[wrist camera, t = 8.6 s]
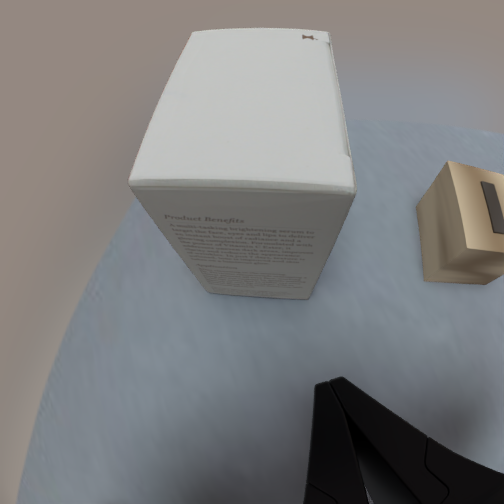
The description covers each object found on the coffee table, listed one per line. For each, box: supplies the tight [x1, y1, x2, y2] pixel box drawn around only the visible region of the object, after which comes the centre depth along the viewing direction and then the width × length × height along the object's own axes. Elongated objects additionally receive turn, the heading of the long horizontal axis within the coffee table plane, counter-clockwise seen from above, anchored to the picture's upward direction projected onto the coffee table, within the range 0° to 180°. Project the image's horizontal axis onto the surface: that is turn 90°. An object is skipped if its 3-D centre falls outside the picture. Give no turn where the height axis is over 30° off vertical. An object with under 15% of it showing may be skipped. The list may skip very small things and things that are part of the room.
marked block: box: [416, 161, 504, 285], centre depth 14 cm, size 5×5×5 cm
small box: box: [127, 28, 357, 300], centre depth 13 cm, size 8×6×10 cm
